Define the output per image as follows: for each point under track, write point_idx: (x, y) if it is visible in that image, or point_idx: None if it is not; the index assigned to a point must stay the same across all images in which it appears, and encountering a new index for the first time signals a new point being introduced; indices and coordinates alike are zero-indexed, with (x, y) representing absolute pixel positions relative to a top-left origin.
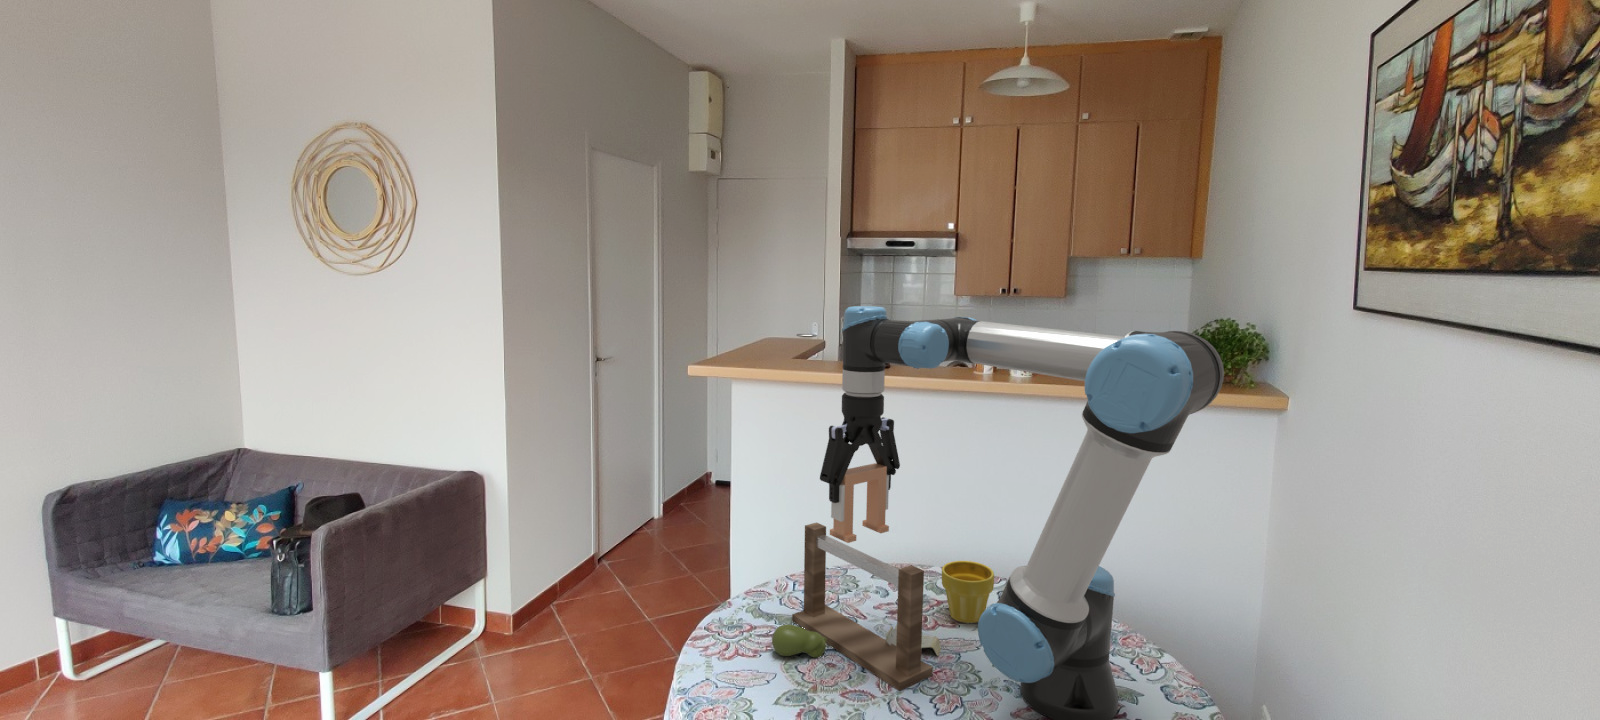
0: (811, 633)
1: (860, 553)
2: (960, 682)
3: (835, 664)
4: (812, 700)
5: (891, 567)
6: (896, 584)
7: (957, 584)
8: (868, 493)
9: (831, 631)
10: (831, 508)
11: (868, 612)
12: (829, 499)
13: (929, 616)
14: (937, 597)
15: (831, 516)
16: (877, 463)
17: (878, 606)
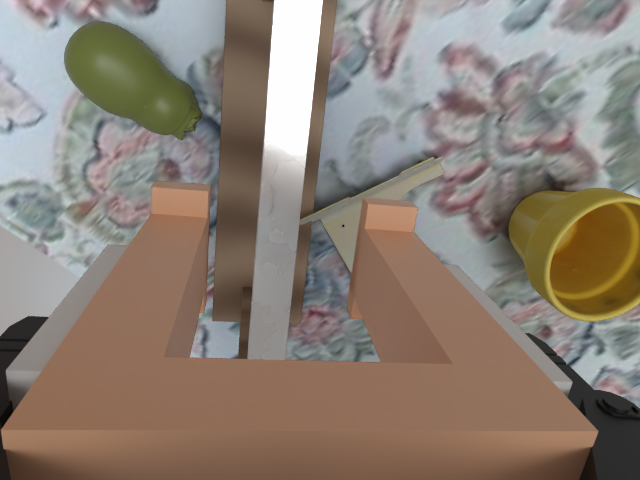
0: (156, 110)
1: (286, 220)
2: (317, 355)
3: (179, 175)
4: (55, 236)
5: (275, 359)
6: None
7: (537, 272)
8: (403, 308)
9: (247, 92)
10: (92, 265)
11: (413, 60)
12: (16, 325)
13: (489, 173)
14: (584, 126)
15: (106, 249)
16: (589, 458)
17: (455, 55)
